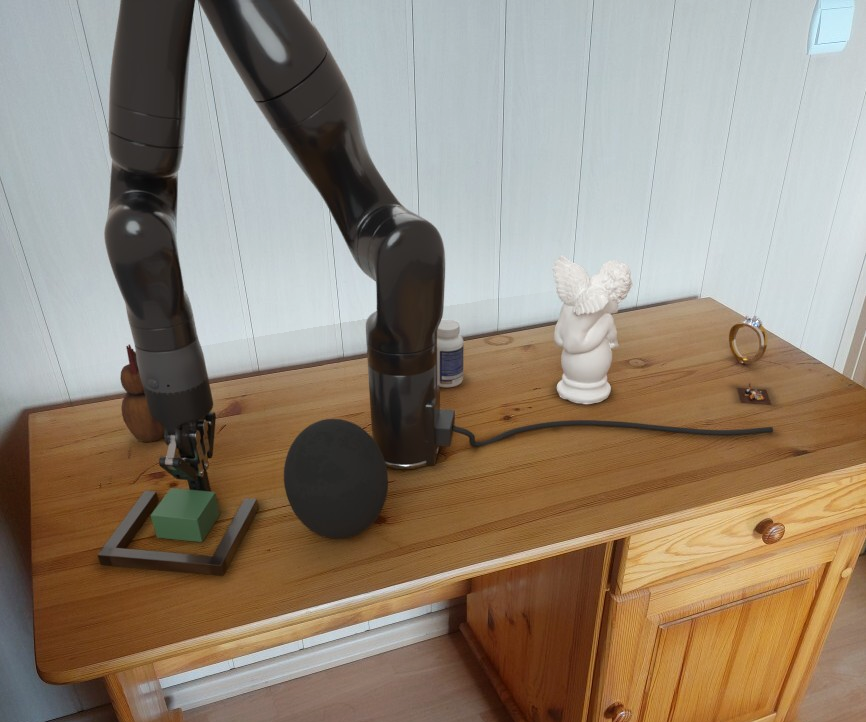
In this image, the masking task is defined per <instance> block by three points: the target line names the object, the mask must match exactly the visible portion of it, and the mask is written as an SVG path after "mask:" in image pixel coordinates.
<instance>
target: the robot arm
mask: <svg viewBox="0 0 866 722" xmlns="http://www.w3.org/2000/svg"><path fill="white" fill-rule="evenodd" d="M197 3H198V4H199V6H200V7H201V9H202V11H203V13H204V15H205V17H206V19H207V21H208V22H209V25H210V26H211V28H212V30H213V32H214V35H215V36H216V38H217V39H218V41H219V43H220V45H221V48H222V49H223V50H224V52H225V54H226V57H228V59H229V61H230V63H231V65H232V66H233V68H234V69H235V71H236V73H237V75H238V76H239V78H240V79H241V81H242V83H243V85H244V87H245V89H246V90H247V91H248V93H249V95H250V97H251V98H252V100H253V101H254V103H255V105H256V107H257V108H258V109H259V111H260V112H261V114H262V115H263V117H264V119H265V121H266V122H267V123H268V125H269V127H271V130H272V131H273V132H274V134H275V135H276V137H277V138H278V139H279V140H280V142H281V143H282V145H283V146H284V148H285V149H286V151H287V152H288V153H289V155H290V156H291V158H292V159H293V160H294V162H295V163H296V164H297V166H298V167H299V169H300V170H301V171H302V173H303V174H304V175H305V177H306V178H307V179H308V180H309V182H310V183H311V184H312V185H313V187H314V188H315V189H316V191H317V192H318V194H319V195H320V197H321V198H322V200H323V202H324V203H325V205H326V207H327V209H328V211H329V213H330V214H331V216H332V218H333V220H334V222H335V224H336V226H337V228H338V230H339V232H340V234H341V236H342V237H343V240H344V243H345V244H346V246H347V248H348V250H349V252H350V254H351V256H352V258H353V260H354V262H355V263H356V265H357V266H358V267H359V269H360V270H361V271H362V273H363V274H364V275H366V276H367V277H369V278H370V279H371V280H372V281H374V282H375V289H376V292H375V293H376V310H375V311H374V312H372V313H371V314H369V316H368V317H367V318H366V321H365V341H366V356H367V357H366V358H367V372H368V373H367V374H368V389H369V391H368V392H369V407H370V408H369V409H370V424H371V437H372V438H373V439H374V441H375V442H376V443H377V445H378V447H379V448H380V450H381V452H382V454H383V457H384V460H385V463H386V467H387V468H389V469H394V470H400V471H401V470H404V471H405V470H407V471H408V470H416V469H420V468H423V467H426V466H427V467H429V466H430V467H432V466H435V465H436V461H437V458H438V455H439V451H440V447H441V446H442V447H451V443H452V439H453V435H454V433H457V434H461V435H464V436H466V437H468V439H469V441H468V442H469V445H470V446H472V447H475V448H480V447H484V446H486V445H489V444H492V443H495V442H499V441H501V440H505V439H506V438H509V437H511V436H514V435H518V434H522V433H525V432H526V433H527V432H530V431H537V430H543V429H549V428H559V427H560V428H561V427H573V426H574V427H575V426H578V427H579V426H581V427H583V426H590V427H594V426H595V427H609V428H610V427H611V428H612V427H613V428H614V427H615V428H625V429H626V428H627V429H638V430H646V431H656V432H665V433H677V434H689V435H697V436H698V435H700V436H716V437H717V436H728V437H729V436H746V435H757V434H768V433H769V434H770V433H773V432H774V427H773V426H766V427H765V426H764V427H756V428H745V429H742V428H741V429H703V428H689V427H679V426H669V425H658V424H657V425H656V424H649V423H648V424H647V423H640V422H639V423H638V422H628V421H615V420H614V421H613V420H596V419H595V420H593V419H590V420H589V419H587V420H586V419H572V420H558V421H548V422H547V421H546V422H539V423H536V424H535V423H533V424H529V425H524V426H518V427H516V428H512V429H509V430H507V431H504V432H502V433H500V434H498V435H496V436H494V437H492V438H489V439H486V440H482V441H478V440H476V437H475V436H476V435H475V434H474V433H473V432H471V431H470V430H468V429H467V428H464V427H460V426H456V425H455V424H456V423H455V422H456V421H455V420H456V419H455V417H456V410H455V409H446V408H445V409H444V408H443V409H442V408H441V387H440V386H439V385H437V330H438V327H439V324H440V322H441V320H443V315H444V306H445V286H446V250H445V245H444V241H443V238H442V235H441V233H440V231H439V230H438V228H437V227H436V225H434V224H433V223H432V222H430V221H429V220H428V219H426V218H424V217H422V216H420V215H418V214H417V213H415V212H413V211H411V210H409V209H408V208H406V207H405V206H404V205H403V204H402V203H401V202H400V200H399V199H398V198H397V197H396V196H395V194H394V193H393V191H392V190H391V189H390V187H389V186H388V184H387V182H386V180H384V178H383V176H382V175H381V173H380V172H379V171H378V169H377V167H376V165H375V163H374V161H373V160H372V158H371V155H370V153H369V150H368V147H367V144H366V140H365V136H364V132H363V127H362V123H361V118H360V115H359V110H358V107H357V104H356V100H355V98H354V95H353V92H352V90H351V88H350V86H349V84H348V82H347V80H346V77H345V76H344V74H343V72H342V70H341V68H340V67H339V64H338V63H337V60H336V59H335V57H334V56H333V54H332V52H331V50H330V49H329V47H328V45H327V42H326V41H325V40H324V37H323V36H322V35H321V32H320V31H319V30H318V28H317V27H316V25H315V23H314V22H313V21H312V19H311V17H309V16H308V14H307V12H306V11H305V10H304V8H303V7H302V6H301V4H300V3H299V2H298V0H197ZM195 4H196V0H119V9H118V18H117V24H116V30H115V38H114V42H113V49H112V56H111V57H112V58H111V64H110V74H109V75H110V77H109V92H108V95H109V97H108V99H109V100H108V127H107V128H108V131H107V133H108V136H107V137H108V138H107V139H108V151H109V156H110V158H111V168H110V182H109V183H110V184H109V198H108V210H107V217H106V222H105V225H104V231H103V232H104V233H103V235H104V244H105V249H106V253H107V257H108V261H109V264H110V267H111V270H112V273H113V276H114V279H115V282H116V284H117V286H118V289H119V292H120V294H121V296H122V299H123V301H124V305H125V310H126V316H127V320H128V324H129V328H130V331H131V332H130V333H131V336H132V340H133V344H134V349H135V350H134V351H135V352H136V359H137V365H138V369H139V373H140V377H141V381H142V385H143V389H144V393H145V397H146V401H147V404H148V408H149V412H150V415H151V416H152V418H153V419H155V420H156V421H158V422H159V423H160V424H162V425H163V427H164V437H163V438H164V443H165V444H166V446H167V451H166V456H160V457H159V458H158V465H159V467H161V468H162V469H163V470H164V471H165V472H166V473H168V475H170V476H172V477H173V478H174V479H175V480H181V481H187V484H188V490H198V491H209V492H212V488H211V484H210V480H209V475H208V474H209V473H208V470H209V467H210V464H209V459H213V456H214V447H215V445H214V444H215V434H216V421H217V416H216V413H215V411H213V412H212V410H213V407H214V400H213V396H212V390H211V385H210V379H209V375H208V370H207V366H206V360H205V355H204V352H203V348H202V346H201V343H200V340H199V339H200V338H199V336H198V332H197V326H196V322H195V316H194V312H193V308H192V303H191V300H190V297H189V294H188V293H187V291H186V290H185V284H184V280H183V273H182V267H181V262H180V257H179V256H180V255H179V248H178V235H177V234H178V201H179V200H178V198H179V171H180V168H181V164H182V160H183V153H184V144H185V132H186V131H185V129H186V117H187V102H188V87H189V86H188V85H189V70H190V69H189V68H190V55H191V42H192V32H193V31H192V30H193V21H194V13H195Z"/></svg>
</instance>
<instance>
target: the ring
mask: <svg viewBox="0 0 866 722" xmlns="http://www.w3.org/2000/svg"><path fill="white" fill-rule="evenodd" d="M745 327H747V328H749V329H751V330H752V331H754V332H755V334H756V336H757V338H758V350H757V353H756V354H755V356H754V357H752V358H748V357H747V356H745V355H742V354H741V353H740V352H739V349H738V347H737V343H736V342H737V341H736V340H737V339H736V338H737V335H738V332H739V330H740V329H741V328H745ZM768 339H769V338H768V334H767V331H766V329H765V327H764V325H763V321H761V320H760V317H757V315H753V317H749V315H745V319H742V320H740V321H739V322H738V323H736V324H734V325H732V327H731V328H730V330H729V333H728V344H729V349H730V351H731V353H732V356H733V357H734V358H735V359H736V360H737V361H738V363H739V364H745V365H746V364H748V365H749V364H752V363H756V362H758V361H759V360H760V359H761V358H762V357H763V356H764V354H765V352H766V350H767V347H768V342H769V341H768Z"/></svg>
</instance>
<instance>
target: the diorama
mask: <svg viewBox="0 0 866 722" xmlns="http://www.w3.org/2000/svg"><path fill="white" fill-rule="evenodd" d="M751 385H752V383H751V382H748V385H747V388H746V387H736V388H737V393H738V397H739V400H740V403H745V404H758V405H759V404H760V405H772V402H771V399H770V397H769V394H768V390H767V389H765V388H764V389H761V388H752V387H751Z"/></svg>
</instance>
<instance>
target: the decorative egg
mask: <svg viewBox="0 0 866 722" xmlns="http://www.w3.org/2000/svg"><path fill="white" fill-rule="evenodd" d="M283 484H284V485H283V486H284V491H285V494H286V498H287V501H288V503H289V506H290V508H291V509H292V511H293V513H294V514H295V516H296V517H297V519H298V520H299V521H300V522H301V523H302V525H304V526H305V527H306V528H307V529H309V530H310V531H312V533H313V532H314V533H315V534H317V535H319V536H321V537H324V538H326V539H327V538H328V539H331V540H344V539H349V538H350V539H351V538H354V537H356V536H358V535H360V534H362V533H364V532H365V531H366V530H368V529H369V528H370V527H371V526H372V525H373V524H374V523H375V522H376V521H377V519H378V518H379V516H380V514H381V513H382V511H383V509H384V506H385V503H386V500H387V496H388V489H389V473H388V467H386V463H385V460H384V457H383V454H382V452H381V450H380V448H379V447H378V445H377V443H376V442H375V441H374V439H373V438H372V435H371V434H370V433H368V432H367V431H366V430H365V429H364V428H362V427H361V426H360V425H358V424H356V423H354V422H352V421H349V420H346V419H341V418H326V419H321V420H318V421H316V422H313V423H312V424H309V425H308V426H307V427H305V428H304V429H302V431H301V432H300V433H299V434H297V436H296V437H295V438H294V440H293V442H292V443H291V444H290V447H289V449H288V452H287V454H286V458H285V461H284V467H283Z"/></svg>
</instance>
